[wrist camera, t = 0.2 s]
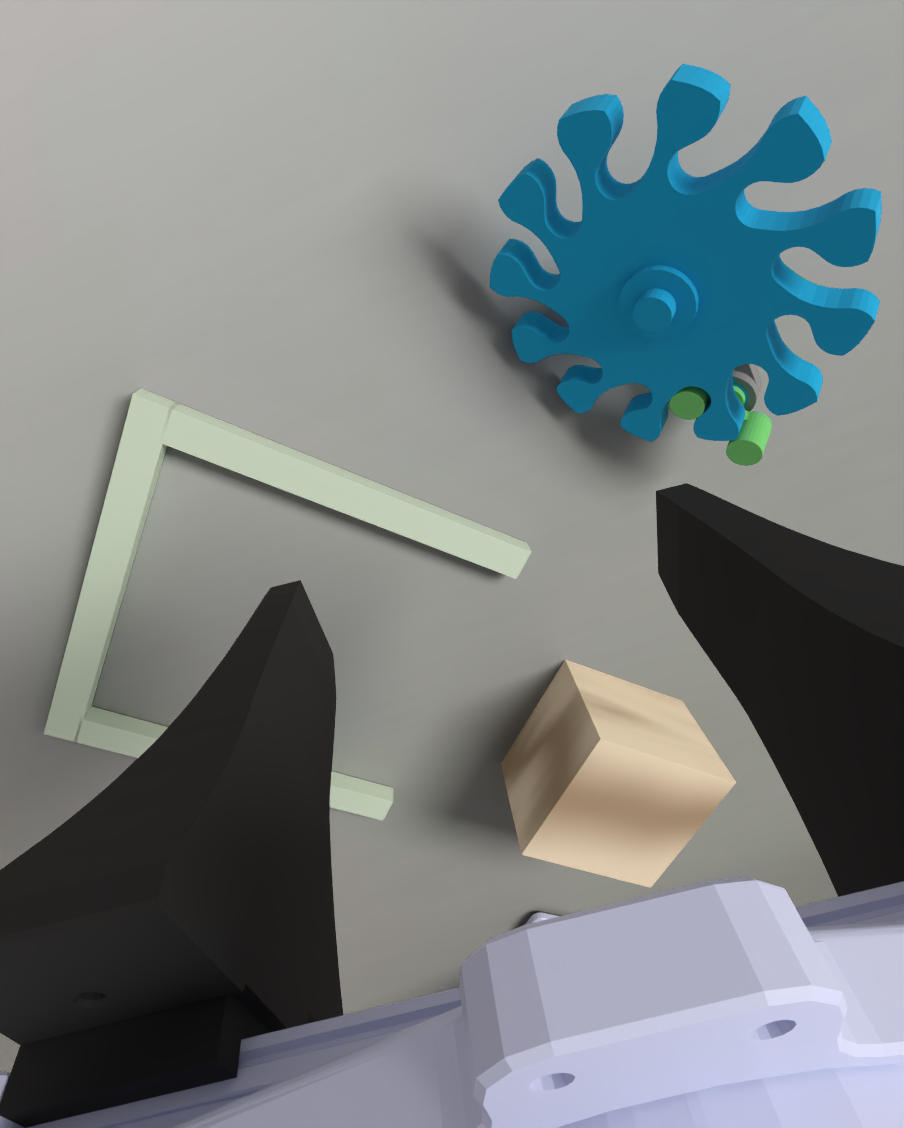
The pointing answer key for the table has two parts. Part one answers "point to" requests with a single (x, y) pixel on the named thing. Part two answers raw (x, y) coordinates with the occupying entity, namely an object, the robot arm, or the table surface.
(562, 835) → the block
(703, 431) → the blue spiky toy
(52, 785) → the table surface
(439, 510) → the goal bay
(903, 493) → the table surface
